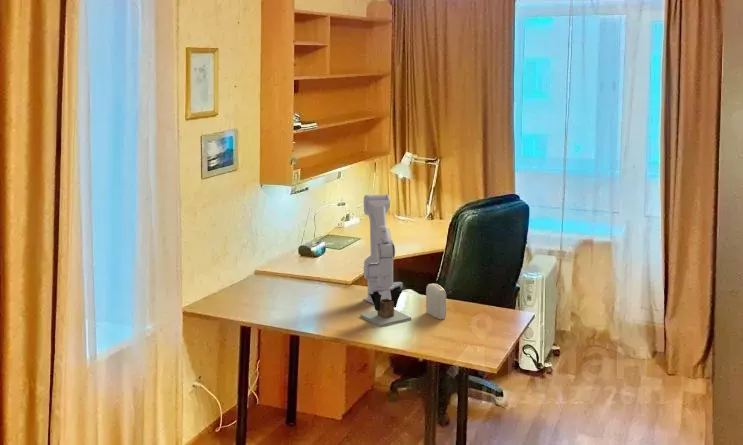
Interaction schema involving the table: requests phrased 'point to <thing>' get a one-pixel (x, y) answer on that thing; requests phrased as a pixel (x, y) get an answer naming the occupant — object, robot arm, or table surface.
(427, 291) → the photo printer
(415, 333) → the table surface
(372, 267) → the robot arm
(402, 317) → the pin base
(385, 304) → the hollow wooden block
